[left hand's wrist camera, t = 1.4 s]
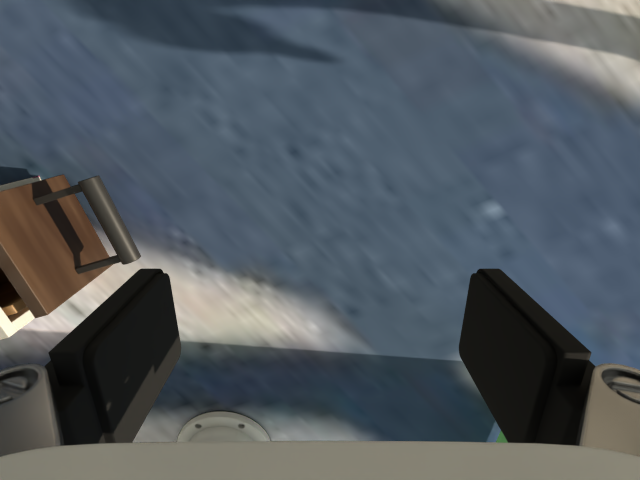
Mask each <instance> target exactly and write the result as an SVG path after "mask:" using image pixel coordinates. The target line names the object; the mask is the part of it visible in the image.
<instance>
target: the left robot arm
mask: <svg viewBox="0 0 640 480" xmlns="http://www.w3.org/2000/svg"><path fill="white" fill-rule="evenodd" d="M180 353H181V343H180V337H179V331H178V325H177V319H176V313H175V308H174V302H173V296H172V290H171V284H170V278H169V275H168V274H167V273H163V271H162V270H161V269H140V270H139V271H137V272H136V273H135V274H134V275H133V276H132V277H131V278H130V279H129V280H128V281H126V282H125V283H124V284H123V285H122V286H121V287H120V288H119V289H118V290H117V291H116V292H114V293H113V294H112V295H111V296H110V297H109V298H108V299H107V300H106V301H105V302H103V303H102V304H101V305H100V306H99V307H98V308H97V309H96V310H95V311H94V312H92V313H91V314H90V315H89V316H88V317H87V318H86V319H85V320H84V321H83V322H82V323H80V324H79V325H78V326H77V327H76V328H75V329H74V330H73V331H72V332H71V333H69V334H68V335H67V336H66V337H65V338H64V339H63V340H62V341H61V342H60V343H59V344H57V345H56V346H55V347H54V348H53V349H52V350H51V351H50V352H49V355H50V358H51V361H50V362H49V363H48V364H47V365H46V366H45V367H44V366H42V365H39V364H31V363H28V364H20V365H15V366H12V367H8V368H5V369H2V370H0V480H640V370H638V369H635V368H632V367H628V366H625V365H620V364H612V363H609V364H601V365H598V366H596V367H595V366H594V365H593V364H592V363H591V362H590V361H589V358H590V355H591V352H590V351H589V350H588V349H587V348H586V347H585V346H584V345H583V344H581V343H580V342H579V341H578V340H577V339H576V338H575V337H574V336H573V335H572V334H571V333H569V332H568V331H567V330H566V329H565V328H564V327H563V326H562V325H561V324H560V323H558V322H557V321H556V320H555V319H554V318H553V317H552V316H551V315H550V314H549V313H548V312H546V311H545V310H544V309H543V308H542V307H541V306H540V305H539V304H538V303H537V302H535V301H534V300H533V299H532V298H531V297H530V296H529V295H528V294H527V293H526V292H524V291H523V290H522V289H521V288H520V287H519V286H518V285H517V284H516V283H515V282H514V281H512V280H511V279H510V278H509V277H508V276H507V275H506V274H505V273H504V272H503V271H501V270H500V269H479V270H478V271H477V273H473V274H472V275H471V278H470V284H469V290H468V296H467V302H466V308H465V313H464V319H463V325H462V331H461V337H460V343H459V353H460V357H461V359H462V361H463V363H464V364H465V366H466V368H467V370H468V372H469V373H470V375H471V377H472V379H473V381H474V382H475V384H476V386H477V388H478V390H479V391H480V393H481V395H482V397H483V399H484V400H485V402H486V404H487V406H488V408H489V409H490V411H491V413H492V415H493V417H494V418H495V420H496V422H497V424H498V426H499V427H500V429H501V431H502V433H503V434H504V436H505V438H506V440H507V442H508V443H491V442H430V441H270V439H269V436H268V434H267V433H266V432H265V430H264V429H263V428H262V427H261V426H260V425H259V424H258V423H256V422H255V421H253V420H252V419H250V418H248V417H245V416H243V415H240V414H237V413H232V412H210V413H205V414H202V415H199V416H197V417H195V418H193V419H191V420H190V421H189V422H188V423H186V424H185V426H184V427H183V428H182V430H181V432H180V434H179V436H178V438H177V442H149V443H132V442H133V440H134V438H135V436H136V434H137V433H138V431H139V429H140V427H141V426H142V424H143V422H144V420H145V418H146V417H147V415H148V413H149V411H150V409H151V408H152V406H153V404H154V402H155V400H156V399H157V397H158V395H159V393H160V391H161V390H162V388H163V386H164V384H165V382H166V381H167V379H168V377H169V375H170V373H171V372H172V370H173V368H174V366H175V364H176V363H177V361H178V359H179V357H180Z"/></svg>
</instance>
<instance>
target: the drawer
mask: <svg viewBox="0 0 640 480" xmlns="http://www.w3.org/2000/svg"><path fill="white" fill-rule="evenodd" d="M81 191H83V193H84V195H85V197H86V198H87V200H88V202H89V204H90V206H91V208H92V209H93V211H94V213H95V215H96V217H97V219H98V220H99V222H100V224H101V226H102V228H103V230H104V231H105V233H106V235H107V237H108V239H109V241H110V242H111V244H112V246H113V248H114V250H115V252H116V254H117V255H116V256H112V257H109V255H108V253H107V252H106V250H105V248H104V246H103V244H102V243H101V241H100V239H99V237H98V235H97V234H96V232H95V230H94V228H93V226H92V225H91V223H90V221H89V219H88V217H87V216H86V214H85V212H84V210H83V208H82V207H81V205H80V203H79V201H78V199H77V198H76V196H75V193H78V192H81ZM140 257H141V255H140V253H139V251H138V249H137V247H136V245H135V244H134V242H133V240H132V238H131V236H130V234H129V232H128V230H127V228H126V226H125V224H124V222H123V220H122V219H121V217H120V215H119V213H118V211H117V209H116V207H115V205H114V203H113V201H112V199H111V197H110V195H109V194H108V192H107V190H106V188H105V186H104V184H103V182H102V180H101V178H100V176H95V177H92V178H89V179H86V180H83V181H79V182H78V185H75V186H72V187H70V185H69V183H68V181H67V179H66V178H65V176H64V175H59V176H56V177H52V178H48V179H44V180H41V181H37V182H33V183H29V184H26V185H22V186H18V187H15V188H11V189H7V190H3V191H0V307H1V309H2V310H3V311H4V313H5V314H6V316H8V315H12V314H15V313H18V312H19V311H21V310H22V309H23V308H25V307H26V306H27V307H28V309H29V310H30V312H31V313H32V315H33V316H34V317H35V318H38V317H42V316H45V315H48V314H49V313H51V312H52V311H53V310H55V309H56V308H57V307H58V306H60V305H61V304H62V303H64V302H65V301H66V300H68V299H69V298H70V297H71V296H73V295H74V294H75V293H77V292H78V291H79V290H81V289H82V288H83V287H84V286H86V285H87V284H88V283H90V282H91V281H92V280H94V279H95V278H96V277H97V276H99V275H100V274H101V273H103V272H104V271H105V270H107V269H108V268H109V267H110V266H112V265H113V264H115V263H119V262H121V263H122V264H128V263H131V262H134V261H136V260H137V259H139V258H140Z"/></svg>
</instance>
